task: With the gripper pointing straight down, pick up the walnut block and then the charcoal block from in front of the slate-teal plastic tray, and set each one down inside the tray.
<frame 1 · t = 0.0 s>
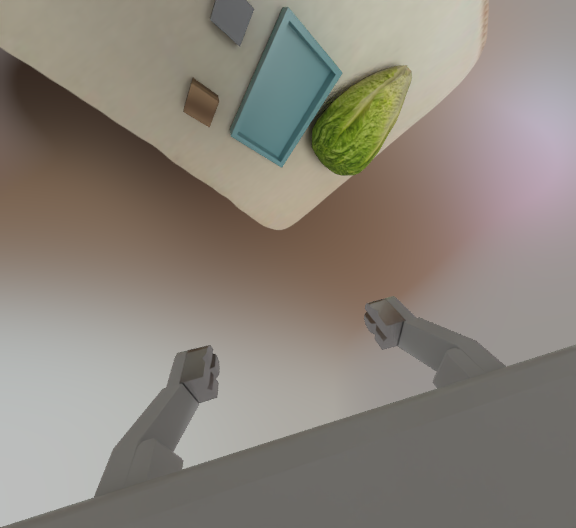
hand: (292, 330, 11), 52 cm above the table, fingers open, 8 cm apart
teal tray: (280, 100, 46), on the table
charcoal block: (230, 13, 35), on the table
walnut block: (201, 99, 43), on the table
lettuce: (351, 114, 52), on the table
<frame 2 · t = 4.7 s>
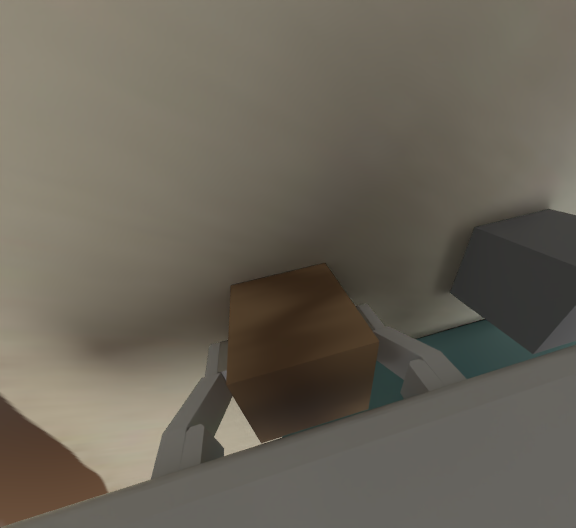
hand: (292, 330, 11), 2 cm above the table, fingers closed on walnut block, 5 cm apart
teal tray: (394, 385, 20), on the table
charcoal block: (493, 253, 13), on the table
walnut block: (286, 308, 12), on the table, touching gripper
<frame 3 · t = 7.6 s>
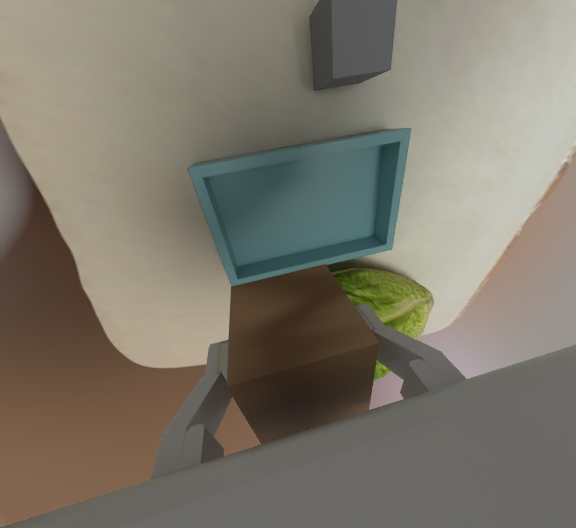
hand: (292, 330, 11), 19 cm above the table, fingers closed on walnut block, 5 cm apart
teal tray: (301, 207, 27), on the table
charcoal block: (337, 52, 20), on the table
walnut block: (286, 309, 12), point 17 cm above the table, touching gripper
lettuce: (353, 292, 37), on the table
when the fingers open (5 cm above the table, at t = 10.5 s): walnut block drops 2 cm, resting on teal tray.
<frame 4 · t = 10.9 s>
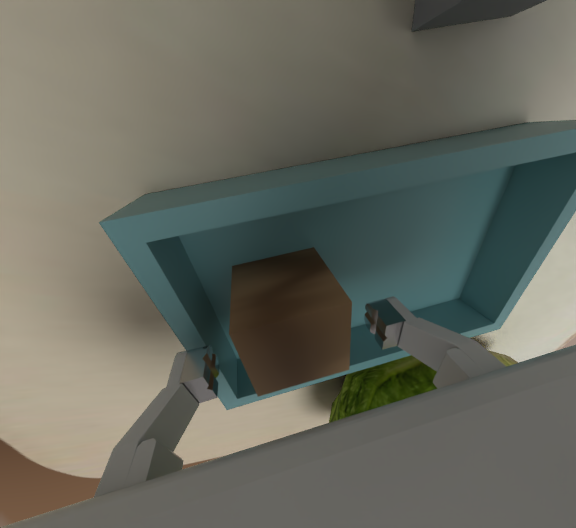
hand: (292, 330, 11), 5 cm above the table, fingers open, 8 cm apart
teal tray: (350, 262, 15), on the table
walnut block: (280, 288, 14), point 1 cm above the table, touching teal tray
lettuce: (406, 363, 26), on the table
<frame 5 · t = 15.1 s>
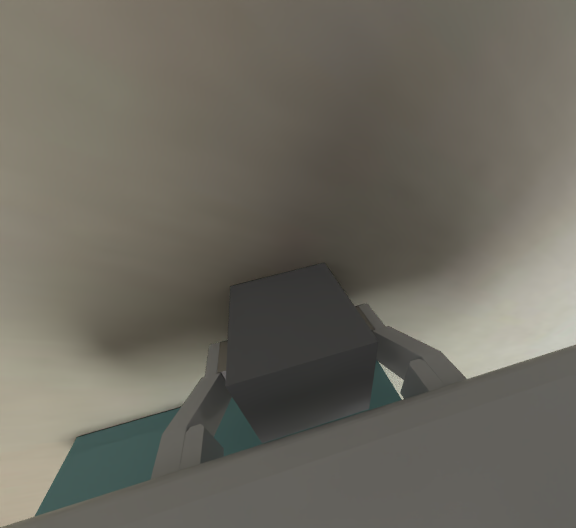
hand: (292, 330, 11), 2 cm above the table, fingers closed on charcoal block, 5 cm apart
teal tray: (255, 428, 19), on the table
charcoal block: (286, 308, 12), on the table, touching gripper
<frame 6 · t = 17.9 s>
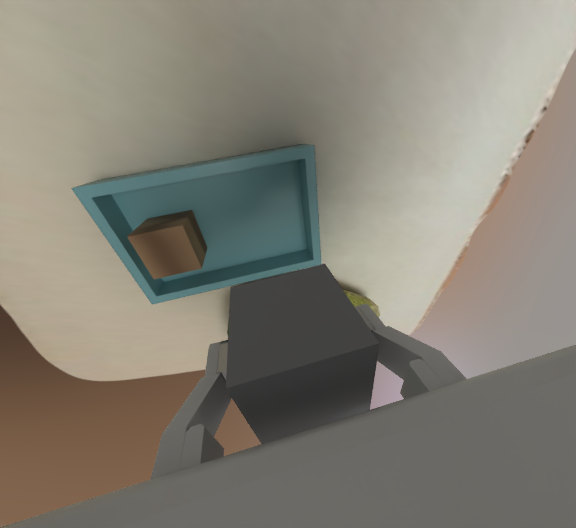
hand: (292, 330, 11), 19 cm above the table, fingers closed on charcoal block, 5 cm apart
teal tray: (225, 221, 26), on the table
charcoal block: (286, 309, 12), point 17 cm above the table, touching gripper
walnut block: (179, 234, 25), point 1 cm above the table, touching teal tray
lettuce: (301, 305, 37), on the table
when the fingers open (5 cm above the table, at t = 20.9 s): charcoal block drops 2 cm, resting on teal tray.
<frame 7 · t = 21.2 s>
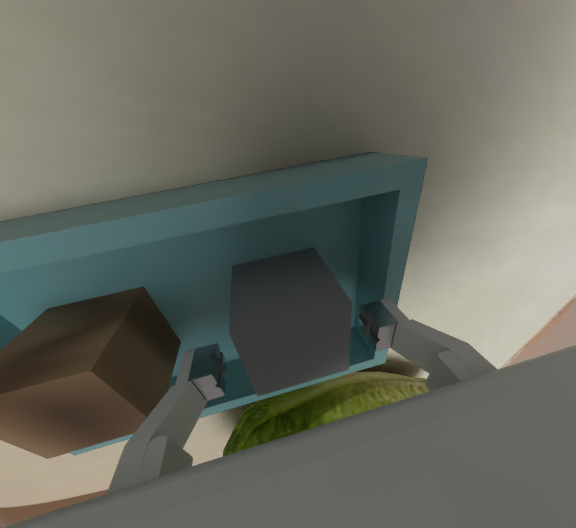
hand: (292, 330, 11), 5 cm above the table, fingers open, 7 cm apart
teal tray: (213, 295, 14), on the table
charcoal block: (280, 288, 14), point 1 cm above the table, touching teal tray
walnut block: (122, 327, 13), point 1 cm above the table, touching teal tray
lettuce: (332, 388, 25), on the table
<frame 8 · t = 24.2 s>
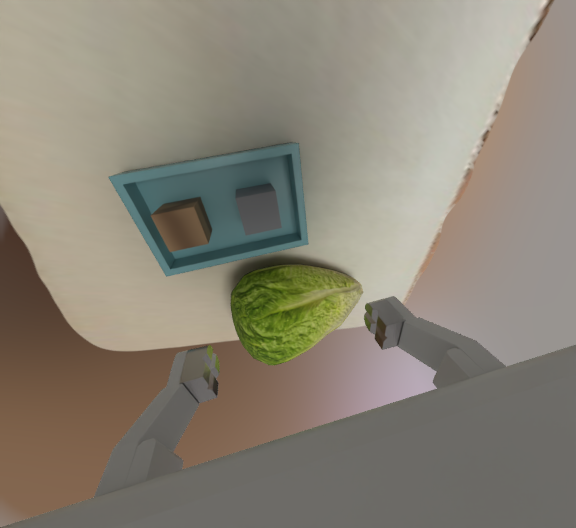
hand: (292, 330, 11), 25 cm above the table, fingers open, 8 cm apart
teal tray: (227, 207, 31), on the table
charcoal block: (257, 203, 31), point 1 cm above the table, touching teal tray
walnut block: (189, 217, 30), point 1 cm above the table, touching teal tray
lettuce: (294, 285, 42), on the table
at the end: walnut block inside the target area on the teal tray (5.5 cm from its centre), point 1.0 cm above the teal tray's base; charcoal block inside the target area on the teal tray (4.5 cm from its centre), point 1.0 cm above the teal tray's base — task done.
